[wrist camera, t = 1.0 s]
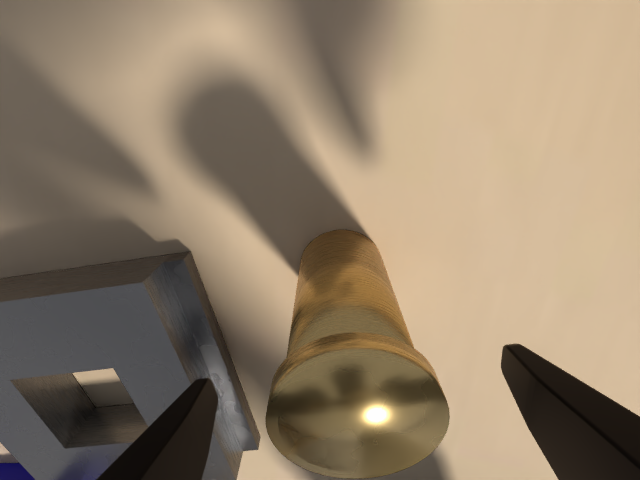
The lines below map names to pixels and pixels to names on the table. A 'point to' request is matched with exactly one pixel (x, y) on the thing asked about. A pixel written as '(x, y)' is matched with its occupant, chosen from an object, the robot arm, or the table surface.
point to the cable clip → (14, 472)
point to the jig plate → (111, 364)
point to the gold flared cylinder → (352, 370)
